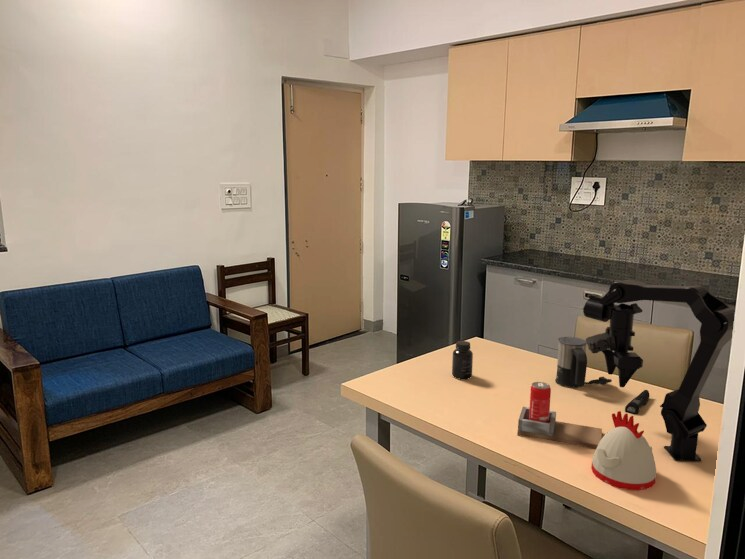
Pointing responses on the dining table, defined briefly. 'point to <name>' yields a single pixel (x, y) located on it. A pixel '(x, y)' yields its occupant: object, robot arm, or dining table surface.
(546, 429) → the socket board
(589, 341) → the robot arm
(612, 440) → the kitchen timer
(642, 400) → the electric trimmer
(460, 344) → the supplement bottle
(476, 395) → the dining table surface
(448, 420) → the dining table surface
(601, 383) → the milk frother
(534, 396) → the beverage can
